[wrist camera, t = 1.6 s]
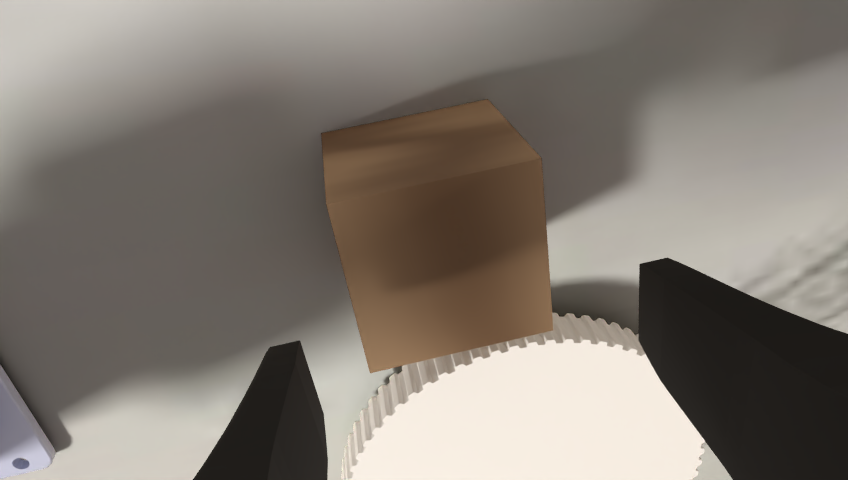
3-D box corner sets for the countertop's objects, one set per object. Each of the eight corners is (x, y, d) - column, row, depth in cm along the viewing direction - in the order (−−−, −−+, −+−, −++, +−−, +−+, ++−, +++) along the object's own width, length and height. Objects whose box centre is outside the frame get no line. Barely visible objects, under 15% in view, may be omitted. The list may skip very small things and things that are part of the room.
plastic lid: (541, 576, 31) (559, 628, 29) (278, 507, 26) (276, 564, 24) (737, 372, 26) (776, 415, 24) (465, 237, 21) (484, 277, 19)
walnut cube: (356, 274, 21) (369, 373, 17) (321, 132, 18) (326, 204, 14) (502, 242, 21) (553, 330, 17) (486, 98, 19) (541, 158, 14)
